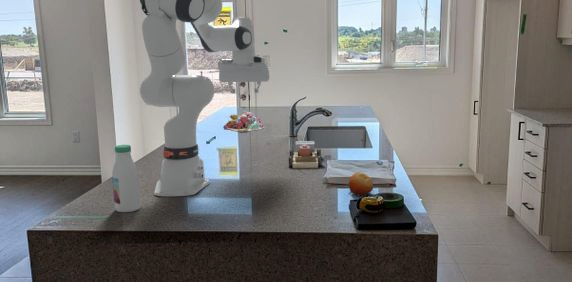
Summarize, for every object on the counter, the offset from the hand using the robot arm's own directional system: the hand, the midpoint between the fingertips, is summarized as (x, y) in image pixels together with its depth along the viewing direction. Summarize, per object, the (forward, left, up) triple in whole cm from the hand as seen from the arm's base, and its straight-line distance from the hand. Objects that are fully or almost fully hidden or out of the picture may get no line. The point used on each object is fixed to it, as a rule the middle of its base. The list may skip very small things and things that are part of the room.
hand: (244, 93), depth 208 cm
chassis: (0, -24, -29) cm, 38 cm away
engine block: (-3, -24, -27) cm, 36 cm away
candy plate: (+86, +11, -30) cm, 92 cm away
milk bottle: (-57, +31, -29) cm, 71 cm away
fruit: (-45, -42, -29) cm, 68 cm away
